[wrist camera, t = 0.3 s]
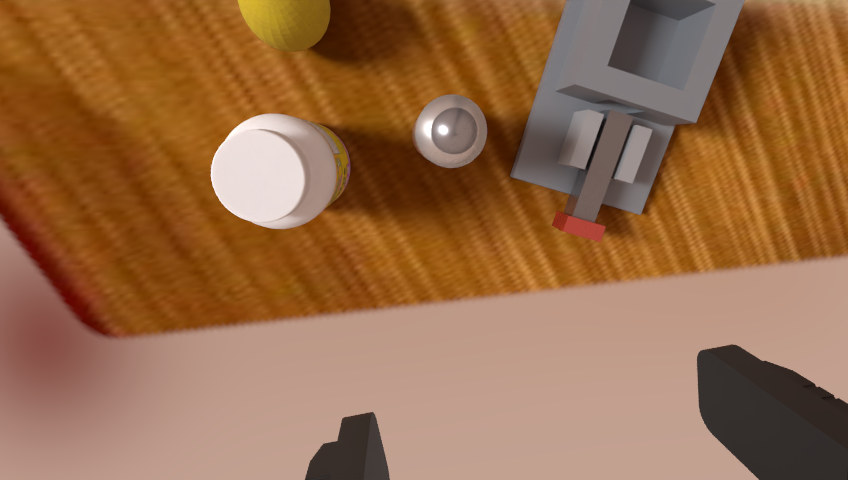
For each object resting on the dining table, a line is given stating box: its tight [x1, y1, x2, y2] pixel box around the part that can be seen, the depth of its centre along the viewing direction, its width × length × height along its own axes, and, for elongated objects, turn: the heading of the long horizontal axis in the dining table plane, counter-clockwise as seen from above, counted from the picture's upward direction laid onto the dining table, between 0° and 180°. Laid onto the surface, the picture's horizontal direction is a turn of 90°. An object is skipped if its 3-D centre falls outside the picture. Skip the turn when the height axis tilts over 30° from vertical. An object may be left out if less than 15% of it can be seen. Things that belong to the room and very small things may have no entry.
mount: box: [510, 0, 745, 215], centre depth 32 cm, size 16×11×5 cm
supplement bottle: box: [211, 114, 350, 229], centre depth 28 cm, size 7×7×13 cm
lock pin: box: [552, 109, 633, 242], centre depth 33 cm, size 9×3×2 cm, turn 164°
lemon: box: [238, 0, 331, 52], centre depth 28 cm, size 6×6×8 cm
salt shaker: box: [412, 95, 487, 168], centre depth 29 cm, size 4×4×12 cm
